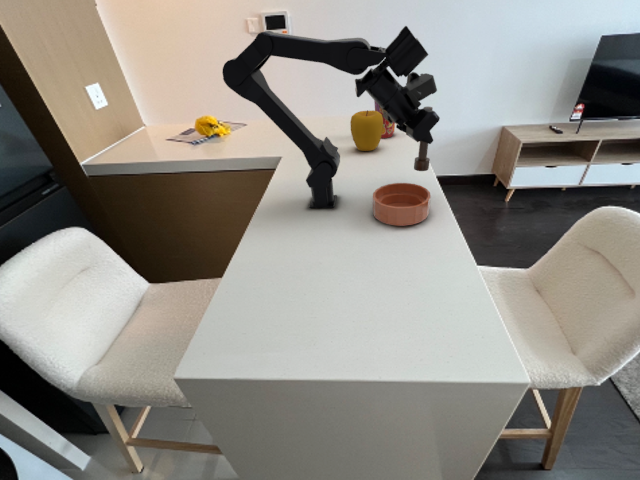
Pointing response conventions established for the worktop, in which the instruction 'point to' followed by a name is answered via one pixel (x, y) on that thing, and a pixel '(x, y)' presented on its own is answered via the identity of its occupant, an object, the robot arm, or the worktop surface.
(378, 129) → the apple
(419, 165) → the stick
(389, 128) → the smoothie
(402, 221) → the bowl
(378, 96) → the robot arm
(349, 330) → the worktop surface
